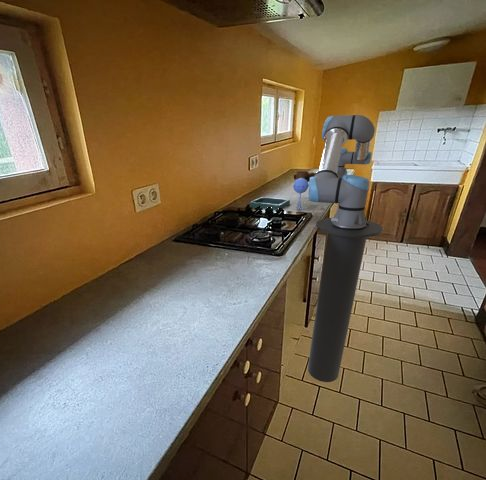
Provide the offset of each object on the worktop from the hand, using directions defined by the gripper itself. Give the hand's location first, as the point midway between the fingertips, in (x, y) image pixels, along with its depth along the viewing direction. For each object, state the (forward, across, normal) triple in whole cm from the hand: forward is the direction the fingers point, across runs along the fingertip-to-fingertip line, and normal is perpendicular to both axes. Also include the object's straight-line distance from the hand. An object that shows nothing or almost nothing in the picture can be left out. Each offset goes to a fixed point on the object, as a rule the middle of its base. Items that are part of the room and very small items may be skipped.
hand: (299, 178), depth 189 cm
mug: (-4, +1, +6) cm, 8 cm away
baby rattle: (+10, +14, +12) cm, 21 cm away
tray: (+18, -5, +16) cm, 25 cm away
